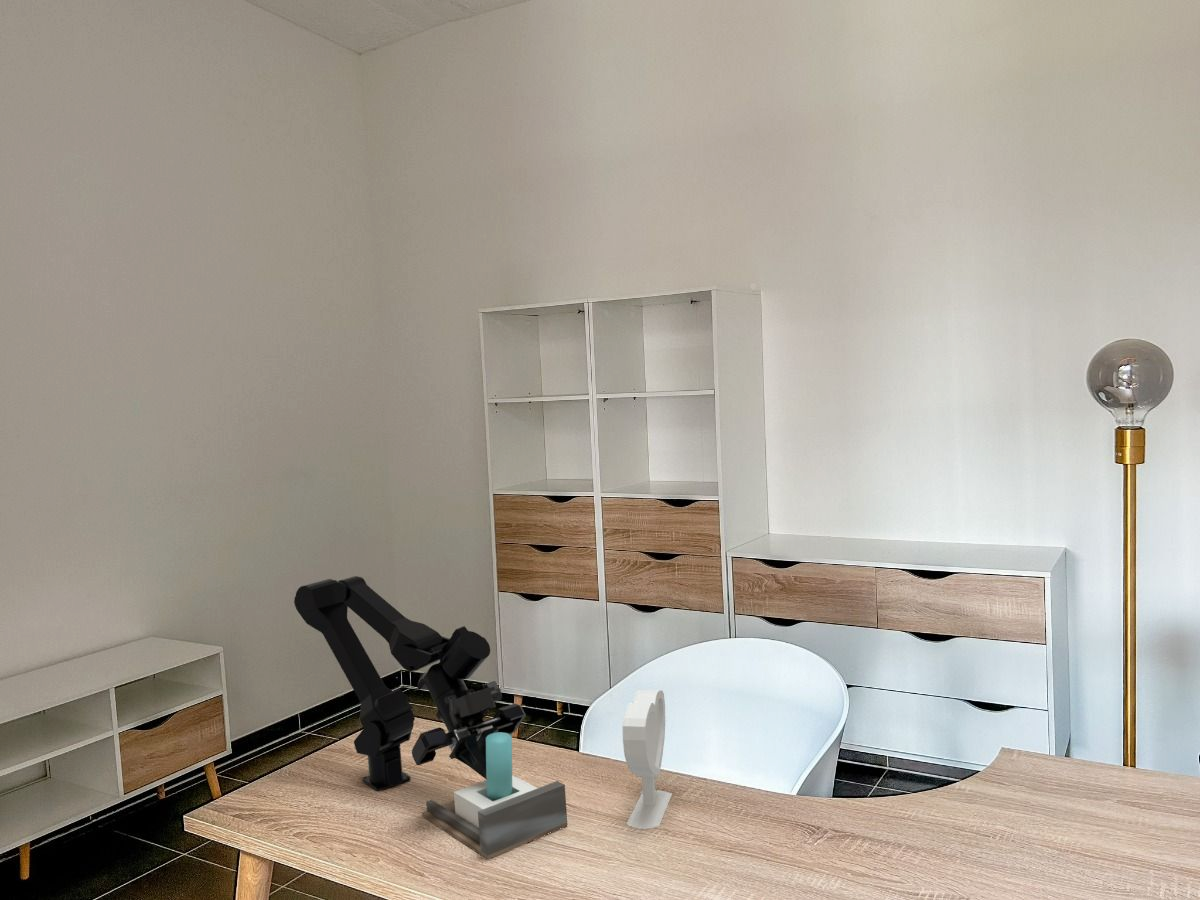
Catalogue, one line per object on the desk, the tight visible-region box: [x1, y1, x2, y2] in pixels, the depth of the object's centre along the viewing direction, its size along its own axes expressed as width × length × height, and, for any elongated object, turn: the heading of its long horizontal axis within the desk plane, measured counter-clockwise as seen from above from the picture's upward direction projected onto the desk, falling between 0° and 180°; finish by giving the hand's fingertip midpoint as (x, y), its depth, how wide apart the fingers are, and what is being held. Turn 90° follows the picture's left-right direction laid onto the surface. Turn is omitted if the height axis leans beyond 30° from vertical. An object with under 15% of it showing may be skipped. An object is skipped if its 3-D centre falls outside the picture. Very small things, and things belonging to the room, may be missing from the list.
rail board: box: [421, 780, 568, 860], centre depth 151 cm, size 20×14×7 cm
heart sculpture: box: [622, 689, 673, 830], centre depth 152 cm, size 16×5×18 cm, turn 165°
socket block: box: [453, 774, 538, 829], centre depth 150 cm, size 10×10×5 cm
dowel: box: [485, 732, 513, 801], centre depth 148 cm, size 4×4×13 cm
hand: (492, 779), depth 151 cm, fingers closed, pressing on dowel
